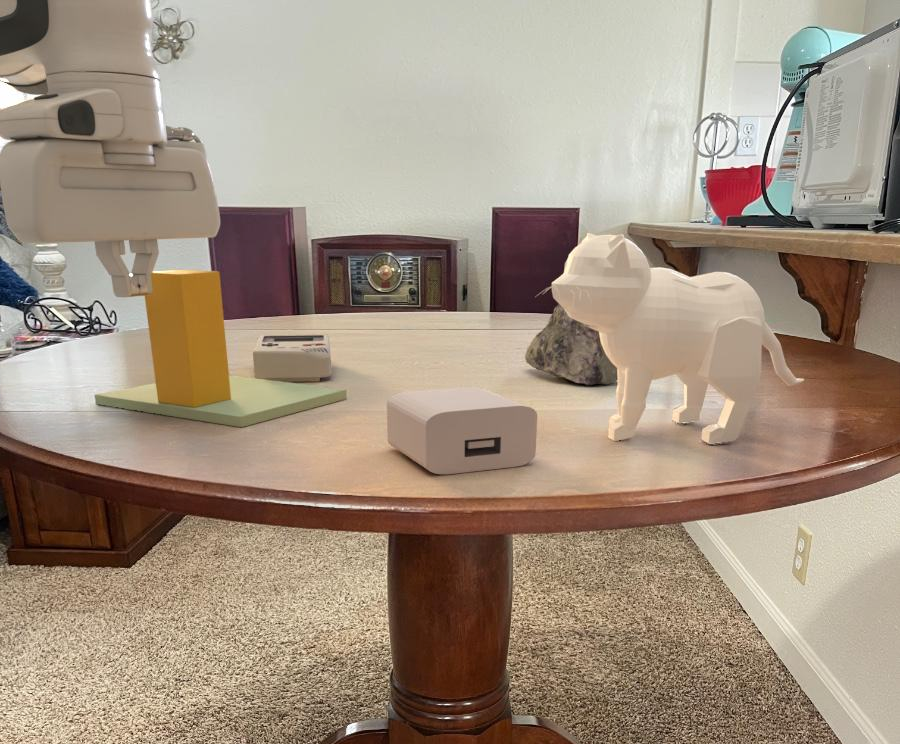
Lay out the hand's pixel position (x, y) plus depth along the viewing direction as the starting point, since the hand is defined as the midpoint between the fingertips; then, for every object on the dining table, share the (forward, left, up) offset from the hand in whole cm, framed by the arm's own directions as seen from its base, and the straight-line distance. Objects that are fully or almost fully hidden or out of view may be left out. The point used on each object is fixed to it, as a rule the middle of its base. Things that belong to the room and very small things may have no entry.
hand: (134, 296), depth 79 cm
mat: (-1, +11, -11) cm, 16 cm away
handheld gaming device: (-7, +29, -11) cm, 32 cm away
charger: (+29, +6, -11) cm, 32 cm away
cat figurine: (+43, +21, -11) cm, 50 cm away
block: (0, +6, -10) cm, 12 cm away
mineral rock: (+24, +44, -11) cm, 51 cm away
